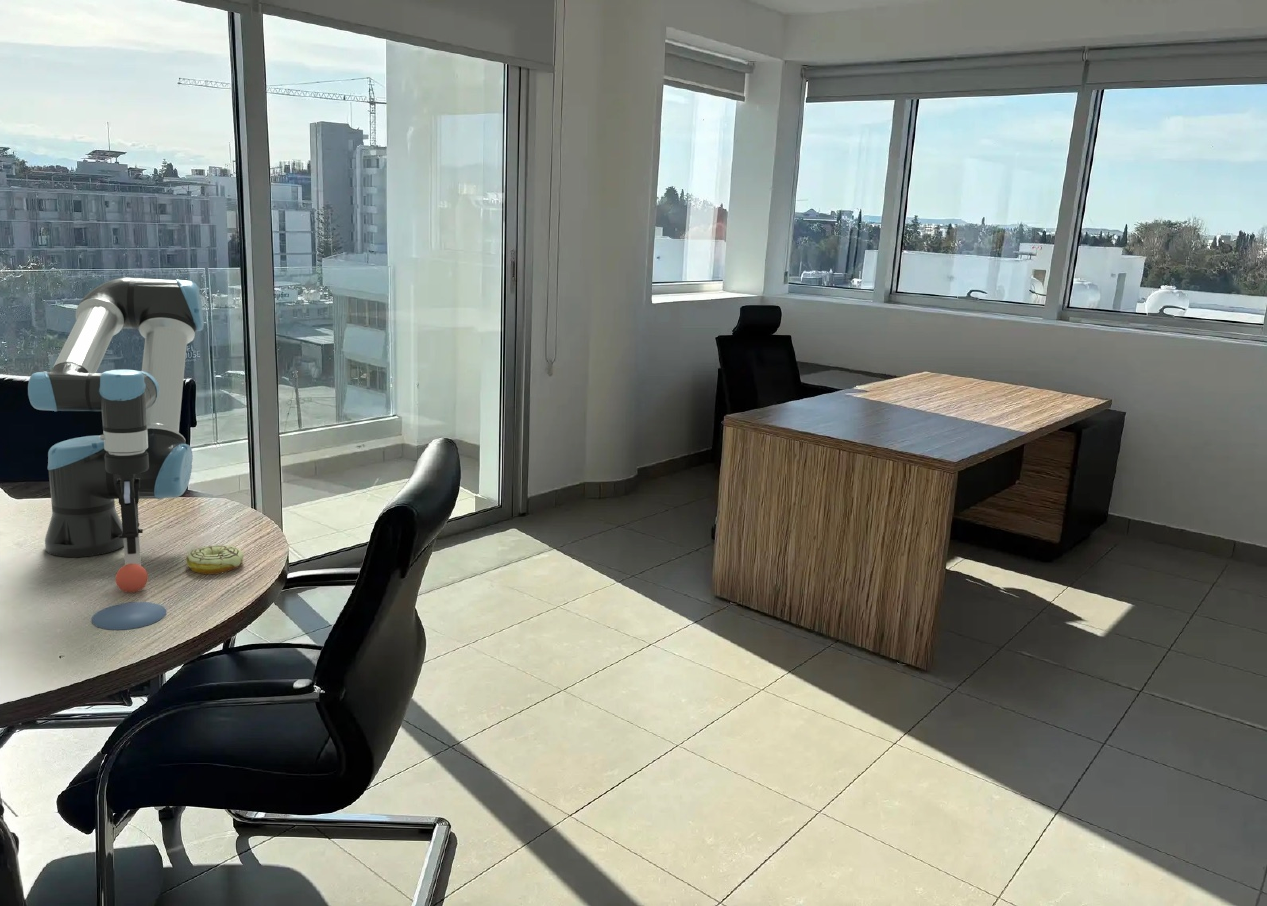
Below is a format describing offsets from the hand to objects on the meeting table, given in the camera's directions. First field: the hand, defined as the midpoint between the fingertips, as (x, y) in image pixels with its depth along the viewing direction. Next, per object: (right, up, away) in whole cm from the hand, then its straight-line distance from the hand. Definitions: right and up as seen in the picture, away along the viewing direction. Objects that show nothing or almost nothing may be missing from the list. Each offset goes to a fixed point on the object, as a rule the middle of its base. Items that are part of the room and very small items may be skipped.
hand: (133, 567), depth 192 cm
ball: (+3, -1, -7) cm, 7 cm away
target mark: (+8, -7, -17) cm, 20 cm away
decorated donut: (+12, -1, +9) cm, 15 cm away
